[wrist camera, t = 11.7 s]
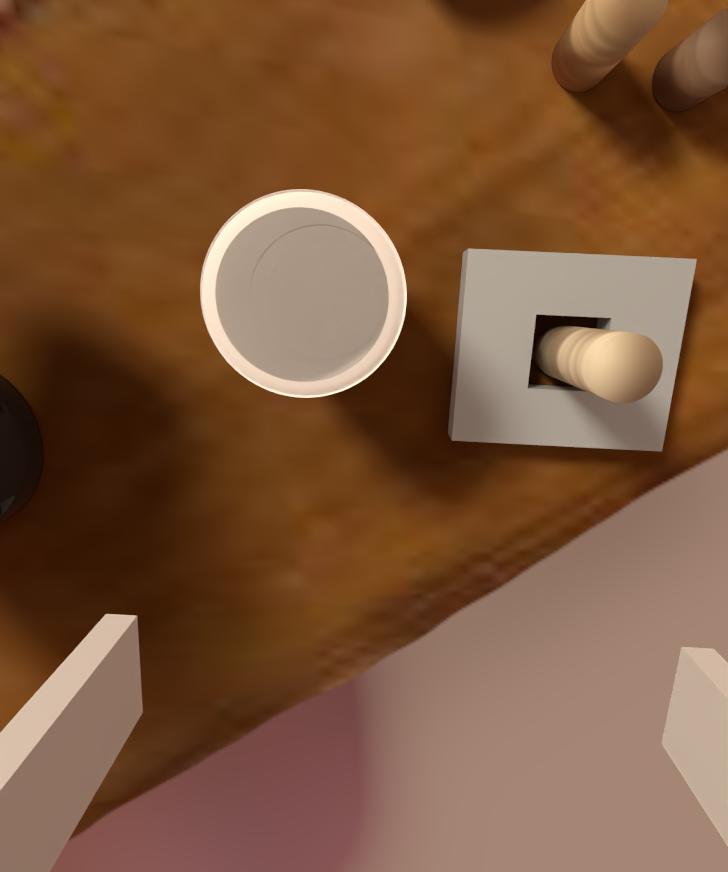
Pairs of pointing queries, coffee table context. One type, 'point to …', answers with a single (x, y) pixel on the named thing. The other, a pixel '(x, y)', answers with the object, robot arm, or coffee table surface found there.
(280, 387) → the jar
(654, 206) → the coffee table surface
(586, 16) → the oak pin
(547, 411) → the hole plate
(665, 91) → the walnut pin
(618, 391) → the birch pin
